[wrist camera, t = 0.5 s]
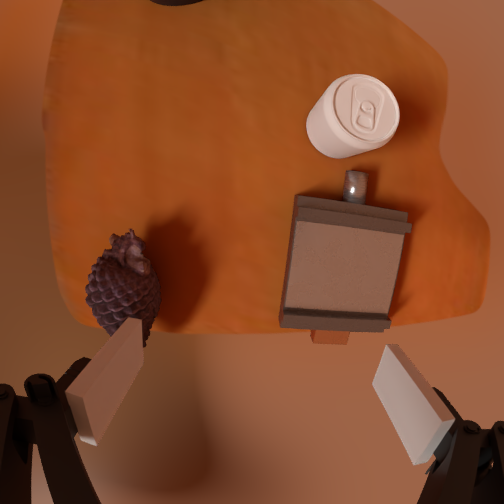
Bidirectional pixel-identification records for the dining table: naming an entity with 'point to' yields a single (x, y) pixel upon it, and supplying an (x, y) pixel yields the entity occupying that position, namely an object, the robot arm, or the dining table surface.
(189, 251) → the dining table surface
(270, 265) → the dining table surface
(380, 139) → the beverage can
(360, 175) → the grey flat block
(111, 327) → the pine cone
